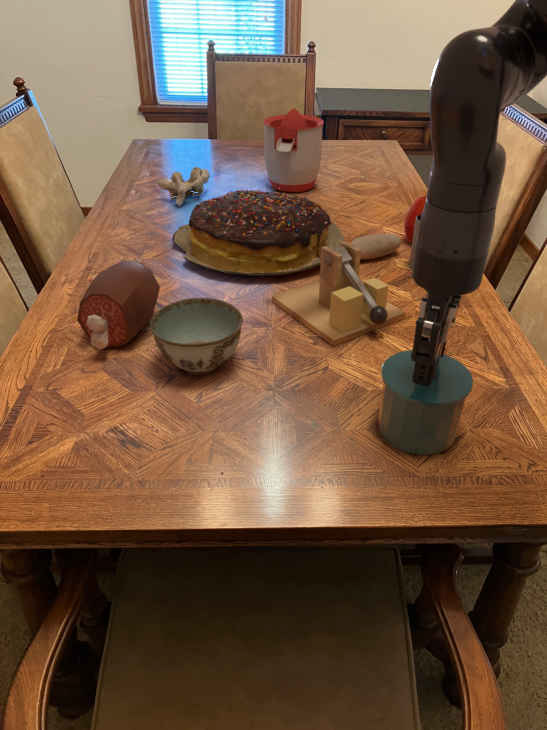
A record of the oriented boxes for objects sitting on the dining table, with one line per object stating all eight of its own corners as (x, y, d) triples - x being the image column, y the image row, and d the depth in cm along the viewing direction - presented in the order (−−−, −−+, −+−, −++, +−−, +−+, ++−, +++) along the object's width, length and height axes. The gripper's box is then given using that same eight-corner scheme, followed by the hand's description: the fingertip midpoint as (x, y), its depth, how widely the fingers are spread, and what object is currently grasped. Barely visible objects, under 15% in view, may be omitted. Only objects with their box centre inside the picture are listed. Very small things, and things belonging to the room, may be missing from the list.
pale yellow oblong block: (360, 325, 96) (363, 294, 92) (341, 332, 94) (344, 300, 91) (347, 317, 98) (350, 285, 95) (328, 323, 96) (331, 292, 93)
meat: (135, 365, 88) (125, 308, 82) (65, 358, 90) (51, 301, 84) (175, 303, 104) (169, 251, 99) (115, 297, 106) (106, 246, 100)
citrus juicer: (254, 194, 152) (252, 114, 140) (273, 175, 165) (273, 100, 154) (311, 200, 148) (314, 118, 137) (326, 180, 162) (330, 104, 150)
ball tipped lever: (386, 324, 95) (394, 315, 92) (372, 330, 94) (380, 320, 91) (339, 255, 99) (346, 244, 97) (326, 259, 98) (332, 248, 95)
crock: (462, 416, 79) (475, 366, 74) (446, 464, 71) (459, 412, 66) (390, 396, 82) (398, 347, 77) (368, 440, 75) (374, 389, 70)
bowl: (247, 340, 94) (246, 298, 90) (240, 391, 83) (238, 345, 79) (165, 339, 95) (159, 296, 90) (147, 389, 84) (140, 343, 79)
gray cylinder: (434, 264, 118) (443, 216, 112) (426, 273, 114) (435, 224, 108) (413, 259, 120) (420, 211, 114) (405, 267, 116) (412, 219, 110)
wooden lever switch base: (404, 318, 100) (414, 256, 93) (333, 346, 93) (338, 281, 86) (339, 279, 112) (343, 221, 105) (271, 301, 105) (271, 241, 98)
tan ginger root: (162, 205, 149) (154, 173, 145) (202, 189, 156) (196, 159, 152) (182, 208, 143) (174, 175, 139) (224, 191, 151) (217, 160, 146)
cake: (301, 207, 145) (301, 167, 140) (377, 263, 117) (381, 216, 111) (159, 232, 134) (153, 189, 128) (205, 299, 106) (200, 249, 100)
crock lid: (478, 369, 74) (489, 326, 71) (461, 420, 66) (473, 374, 62) (394, 348, 78) (401, 306, 75) (368, 394, 70) (374, 349, 66)
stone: (338, 245, 119) (382, 218, 122) (349, 272, 121) (392, 245, 124) (353, 246, 114) (399, 218, 117) (364, 274, 116) (408, 246, 119)
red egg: (433, 253, 122) (441, 204, 116) (396, 245, 126) (402, 197, 119) (443, 239, 128) (452, 192, 122) (408, 232, 131) (414, 185, 125)
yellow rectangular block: (384, 316, 98) (388, 285, 95) (373, 320, 97) (377, 289, 94) (371, 308, 101) (374, 277, 97) (360, 312, 100) (363, 281, 96)
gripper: (476, 276, 55) (445, 410, 65) (499, 224, 65) (469, 347, 75) (400, 261, 57) (381, 392, 67) (433, 214, 68) (413, 333, 78)
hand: (428, 368), depth 71 cm, fingers open, 6 cm apart
